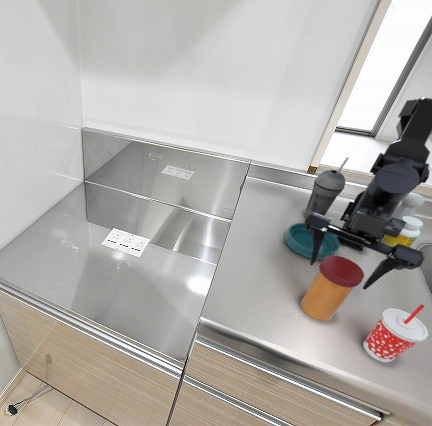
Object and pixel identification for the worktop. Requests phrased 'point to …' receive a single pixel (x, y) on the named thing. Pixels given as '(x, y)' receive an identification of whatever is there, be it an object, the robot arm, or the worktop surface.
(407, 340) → the beverage cup
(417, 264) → the robot arm
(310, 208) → the beverage cup
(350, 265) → the lid
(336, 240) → the dish
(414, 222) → the supplement bottle
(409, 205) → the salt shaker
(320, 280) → the jar
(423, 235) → the worktop surface
